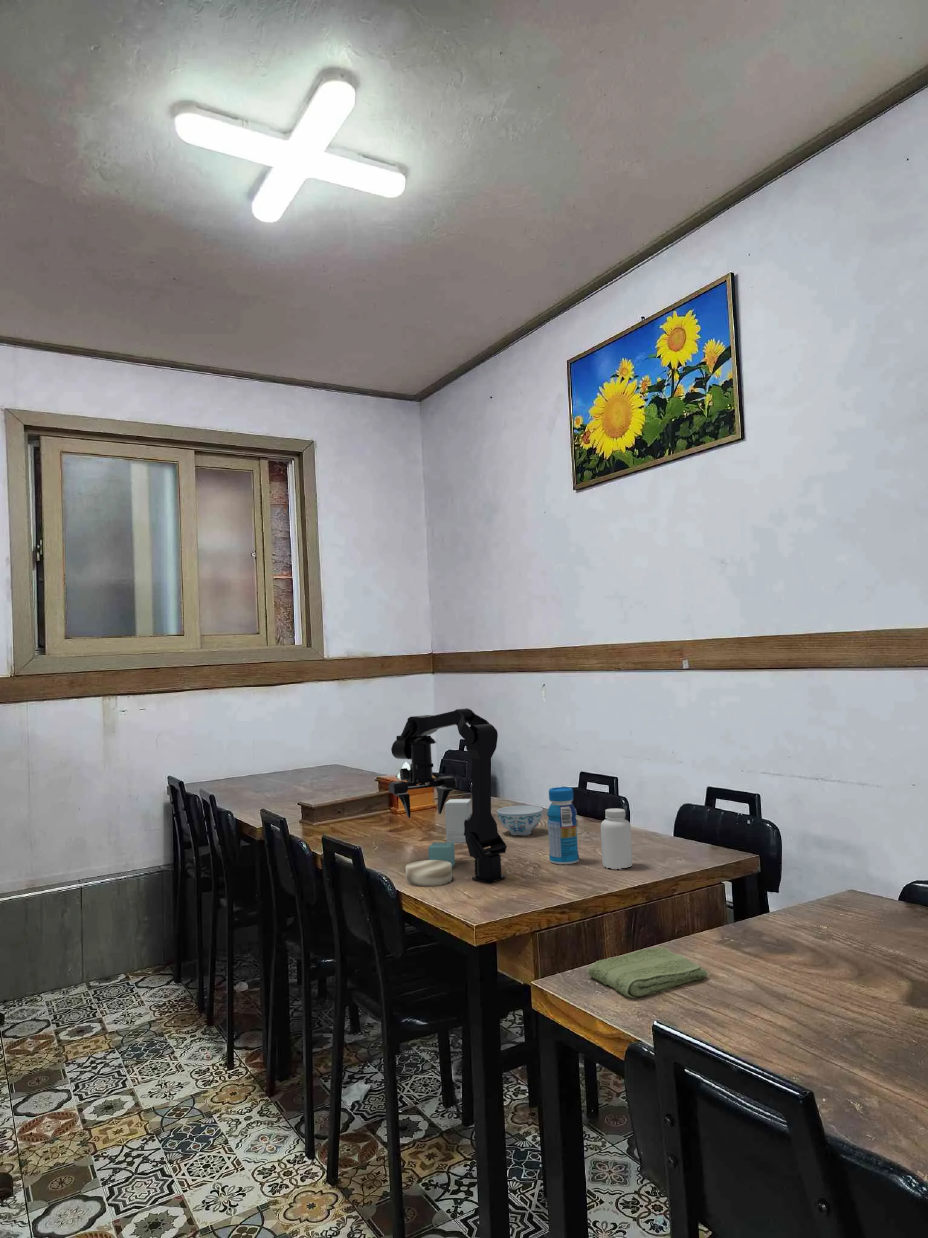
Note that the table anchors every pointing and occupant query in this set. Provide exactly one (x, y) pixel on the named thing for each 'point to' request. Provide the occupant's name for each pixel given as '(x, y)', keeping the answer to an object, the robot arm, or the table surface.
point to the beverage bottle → (562, 827)
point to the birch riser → (428, 873)
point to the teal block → (442, 851)
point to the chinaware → (520, 818)
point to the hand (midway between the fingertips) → (424, 815)
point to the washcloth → (645, 971)
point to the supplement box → (457, 819)
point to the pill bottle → (616, 840)
